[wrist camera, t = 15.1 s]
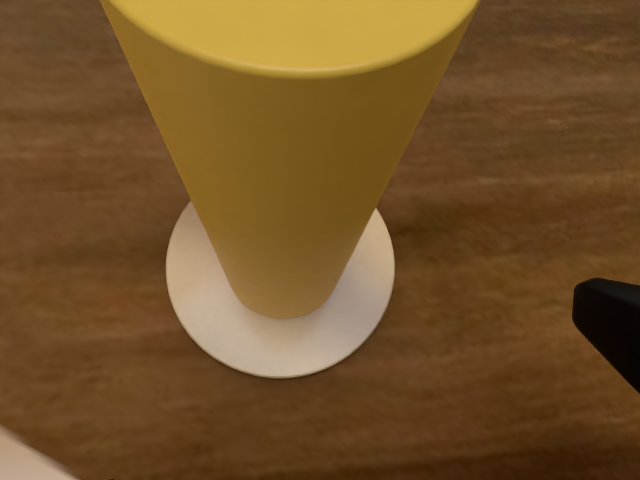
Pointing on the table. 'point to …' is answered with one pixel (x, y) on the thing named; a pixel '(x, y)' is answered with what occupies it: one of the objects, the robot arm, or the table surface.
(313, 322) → the disc
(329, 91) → the yellow cylinder
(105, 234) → the table surface
